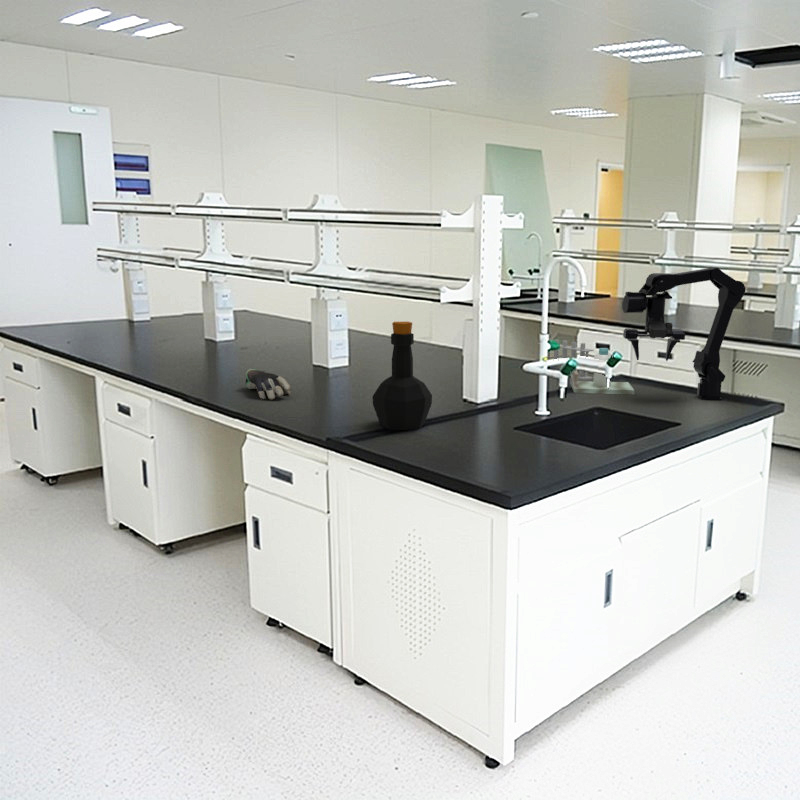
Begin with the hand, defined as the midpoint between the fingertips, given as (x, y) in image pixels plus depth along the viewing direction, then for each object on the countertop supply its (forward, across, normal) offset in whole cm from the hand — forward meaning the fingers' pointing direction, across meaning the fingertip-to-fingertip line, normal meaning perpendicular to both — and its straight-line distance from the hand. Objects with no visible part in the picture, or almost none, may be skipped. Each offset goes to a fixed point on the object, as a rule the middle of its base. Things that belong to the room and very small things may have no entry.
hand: (652, 360), depth 269 cm
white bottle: (+12, -14, +14) cm, 23 cm away
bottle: (+13, -77, -46) cm, 91 cm away
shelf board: (+13, -14, +14) cm, 24 cm away
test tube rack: (+13, -25, +42) cm, 51 cm away
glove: (+14, -128, -7) cm, 129 cm away
